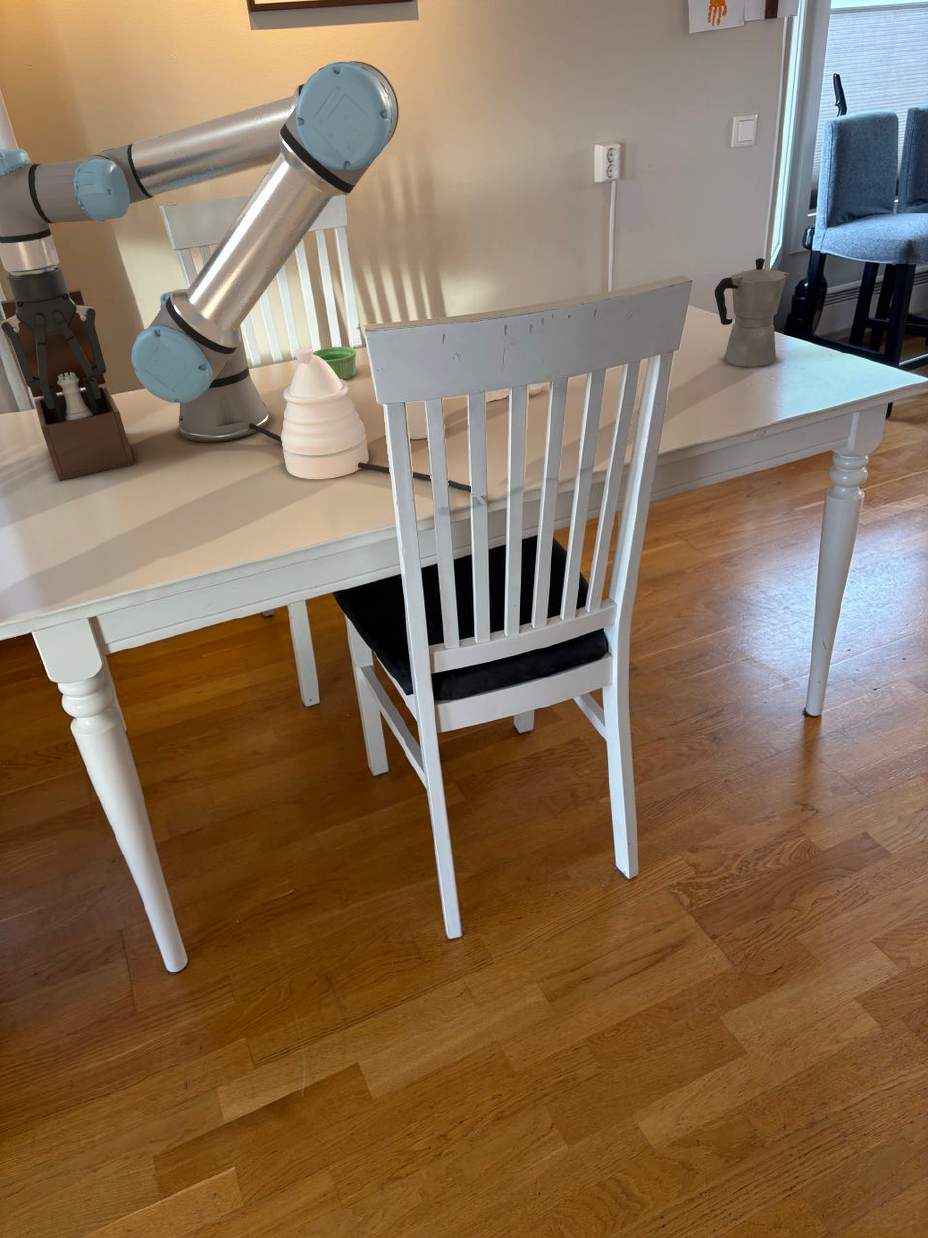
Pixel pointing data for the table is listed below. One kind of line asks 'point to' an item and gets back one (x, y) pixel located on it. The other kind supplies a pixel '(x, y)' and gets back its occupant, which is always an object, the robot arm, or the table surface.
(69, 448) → the box
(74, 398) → the rook chess piece
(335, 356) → the ramekin
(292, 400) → the honey pot
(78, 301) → the box lid
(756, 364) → the coffeepot
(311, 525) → the table surface
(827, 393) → the table surface
